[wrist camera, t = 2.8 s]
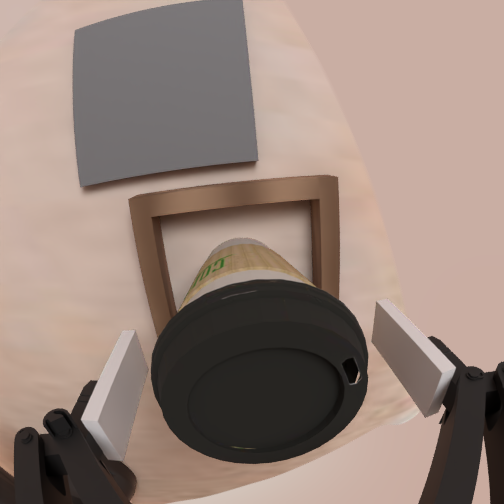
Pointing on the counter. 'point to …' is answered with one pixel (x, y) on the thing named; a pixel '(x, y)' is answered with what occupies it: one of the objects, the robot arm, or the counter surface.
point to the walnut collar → (230, 195)
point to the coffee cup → (258, 360)
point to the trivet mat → (163, 91)
